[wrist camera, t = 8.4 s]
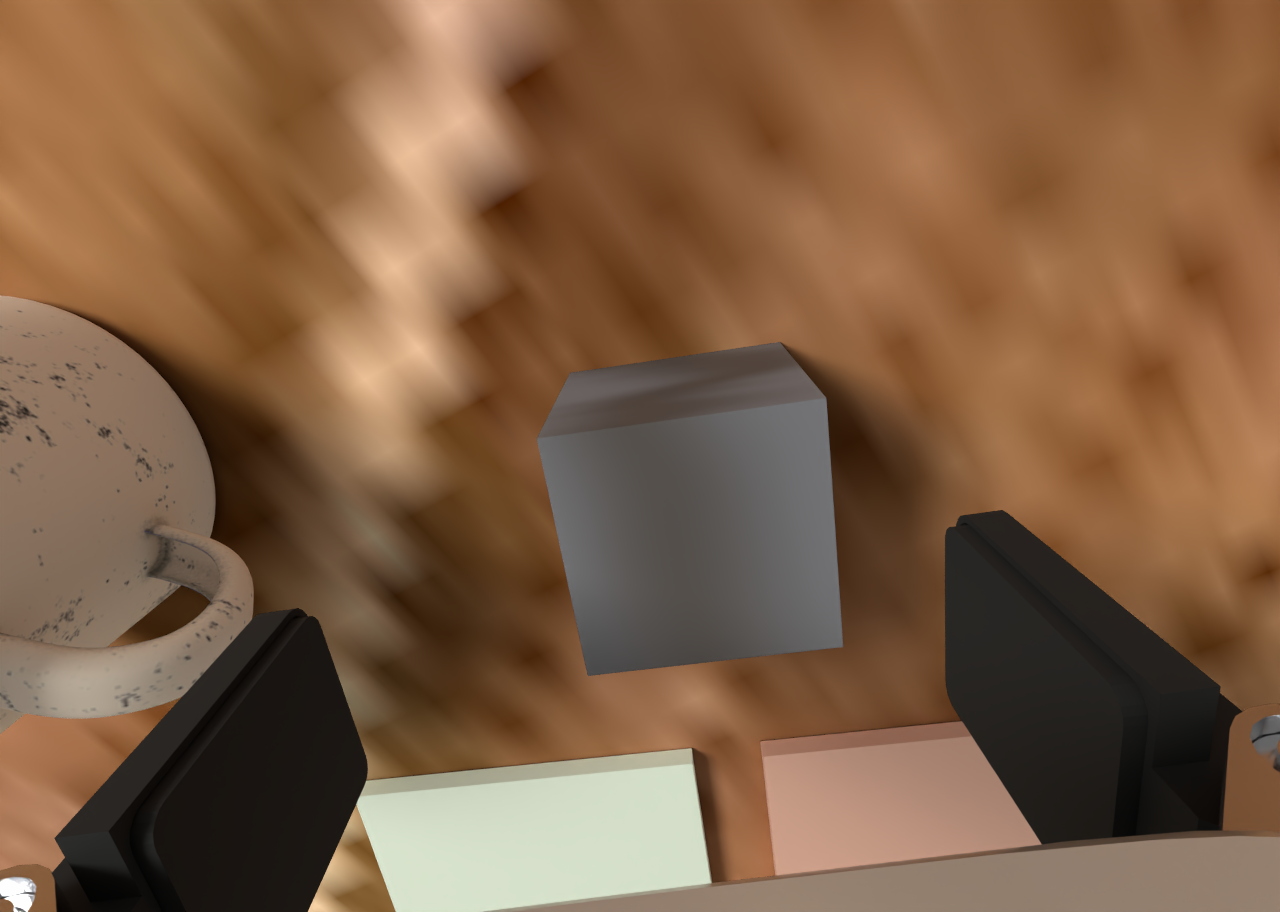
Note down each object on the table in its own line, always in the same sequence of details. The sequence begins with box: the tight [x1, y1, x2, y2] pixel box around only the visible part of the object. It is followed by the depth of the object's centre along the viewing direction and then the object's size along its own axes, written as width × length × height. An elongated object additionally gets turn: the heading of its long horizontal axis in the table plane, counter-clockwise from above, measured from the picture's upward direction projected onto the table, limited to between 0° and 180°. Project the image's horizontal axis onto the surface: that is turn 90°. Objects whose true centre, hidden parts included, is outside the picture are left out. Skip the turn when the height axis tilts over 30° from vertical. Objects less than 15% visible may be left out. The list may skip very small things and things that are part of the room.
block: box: [537, 342, 843, 676], centre depth 15 cm, size 5×5×5 cm
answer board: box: [357, 721, 1041, 912], centre depth 22 cm, size 22×10×1 cm, turn 98°
